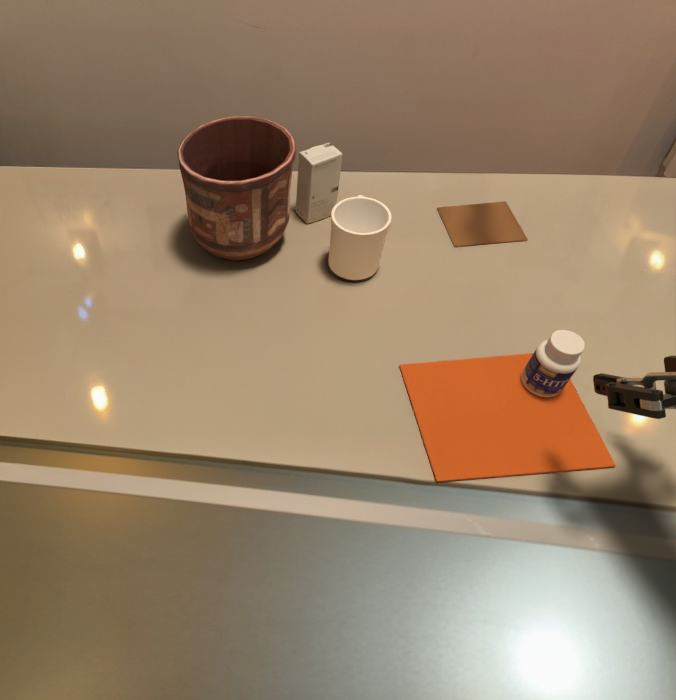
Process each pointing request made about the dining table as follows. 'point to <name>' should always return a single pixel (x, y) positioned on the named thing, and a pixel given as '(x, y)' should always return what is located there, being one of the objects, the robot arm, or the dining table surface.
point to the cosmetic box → (318, 182)
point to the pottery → (237, 184)
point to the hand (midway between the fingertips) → (632, 374)
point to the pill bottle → (553, 363)
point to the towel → (498, 421)
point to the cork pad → (481, 224)
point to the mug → (357, 237)
